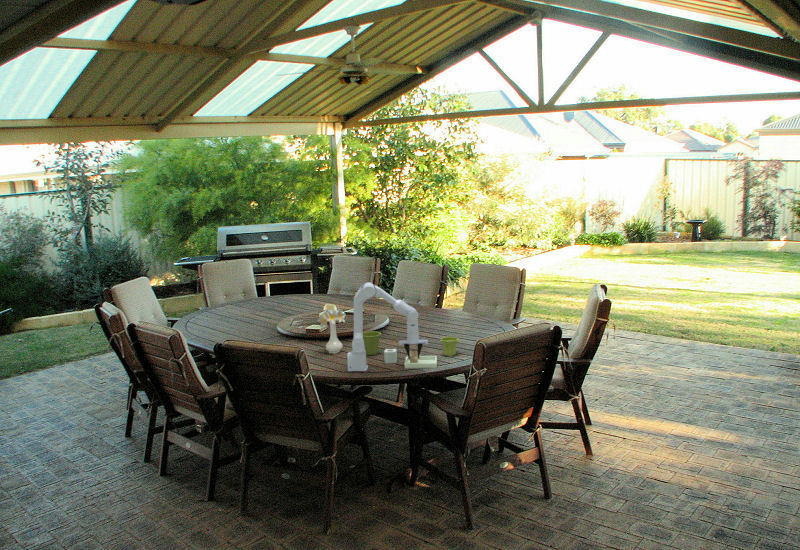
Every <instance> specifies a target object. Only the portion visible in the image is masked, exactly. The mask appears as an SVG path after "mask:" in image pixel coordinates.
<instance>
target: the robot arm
mask: <svg viewBox="0 0 800 550" xmlns="http://www.w3.org/2000/svg"><path fill="white" fill-rule="evenodd" d="M373 297H374V298H381V299H383V300H384V301H385V302H387V303H389V304H390V305H392V306H393V309H394V311H396V312H397V313H399V314H401V315H402V316H405V317H406V334H407V338H406V339H403V340H402V339H401V340H398V346H403V348H404V350H405V351H406V353H407V356H408V358H409V359H410V349H411V348H410V346H411V345H412V346H413V345H417V349H418V359H419V356H421V351H422V349H423V345H428V344H429V342H428V339H420V338H419V337H420V335H419V323H418V322H419V313H418V311H417V310H416V308H414V307H413V306H412V305H409V304H408V303H406V300H404V299H396V298H394V296H392V295H390V294H389V293H388V292H386V291H385V290H384V289H382V288H381V287H379V286H378V285H376V284H373V283H372V282H369V281H367V282H364V283H363V285H362V284H361V286H360V287H359V289H358V291H357V292H356V294H355V295H354V297H353V337H352V338H353V339H352V340H351V349H352V350H351V351H349V352H347V353H346V354H347V355H346V356H347V361H346V363H347V372H366V371H368V369H369V365H368V364H367V355H366V350H365V345H364V340H363V327H364V326H363V324H364V321H363V319H364V318H363V317H364V315H363V314H364V313H363V312H364V308H363V307H364V305H363V304H364V302H365V301H367V300H369V299H371V298H373Z"/></svg>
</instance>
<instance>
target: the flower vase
mask: <svg viewBox="0 0 800 550" xmlns="http://www.w3.org/2000/svg"><path fill="white" fill-rule="evenodd" d="M346 315H347V314H346V312H345V313H343V309H342V308H339V307H338V306H337V310H334V307H332V308H330V309H329V308H328V307H327V308H325V312H323V313H322V315H320V316H319V318H318V319H316V321H317V322H318V323H320V325H319V327H320V328H323V327H326V328H328V327H329V328H330V331H329V332H330V334H329V335H330V337H329V341H328V342H327V343H326V344H325V349H326V351H327V352H328V353H329V354H331V353H332V354H333V355H335V354H339V353H341V350H342V349H343V346H344V345H343V343H342V342H341V341H340V340H339V338H338V335H337V329H336V323H337V320H338V322H339V323H341V322H343V323H346V320H345V317H346ZM328 322H329V326H328Z"/></svg>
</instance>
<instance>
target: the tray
mask: <svg viewBox="0 0 800 550" xmlns="http://www.w3.org/2000/svg"><path fill="white" fill-rule="evenodd" d="M437 357H438V356H437V355H419V359H418V363H410V359H409V358H408V355H407V356H405V359H404V370H418V369H419V370H422V369H424V370H427V369H437V368H438V358H437Z"/></svg>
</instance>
